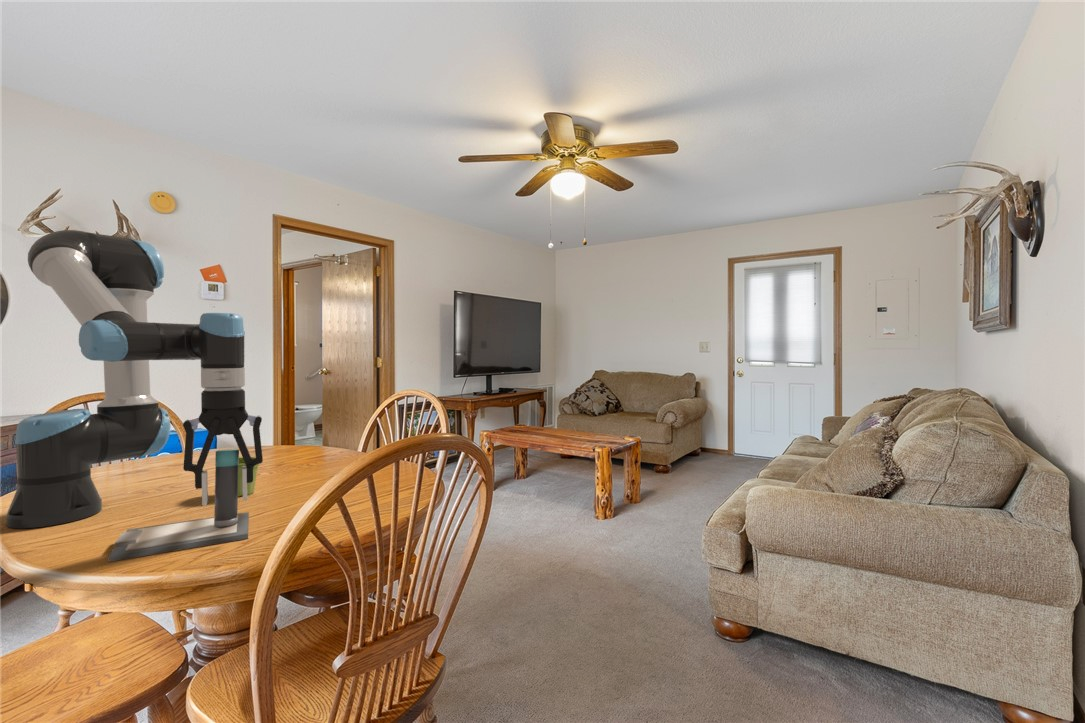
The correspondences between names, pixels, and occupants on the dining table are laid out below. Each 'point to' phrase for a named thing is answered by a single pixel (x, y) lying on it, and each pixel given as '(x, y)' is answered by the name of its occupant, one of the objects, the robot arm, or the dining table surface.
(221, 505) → the marker
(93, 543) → the dining table surface
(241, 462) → the plant pot
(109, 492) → the dining table surface
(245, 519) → the clipboard
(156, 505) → the dining table surface
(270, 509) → the dining table surface
